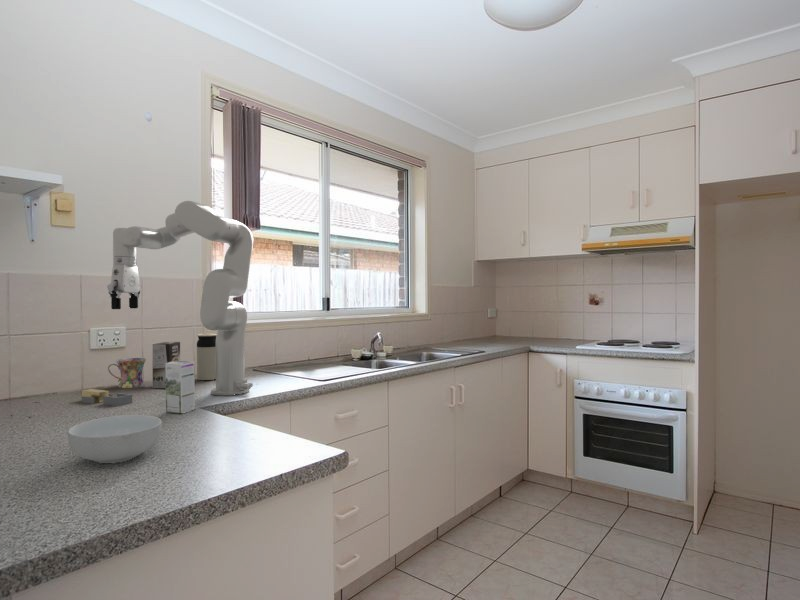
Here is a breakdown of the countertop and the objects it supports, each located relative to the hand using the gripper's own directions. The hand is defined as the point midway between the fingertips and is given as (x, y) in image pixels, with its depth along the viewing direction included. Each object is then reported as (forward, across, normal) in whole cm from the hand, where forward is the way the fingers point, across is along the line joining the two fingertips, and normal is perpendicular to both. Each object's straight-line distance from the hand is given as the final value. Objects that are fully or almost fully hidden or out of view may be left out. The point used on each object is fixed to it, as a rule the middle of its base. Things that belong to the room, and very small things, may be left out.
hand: (125, 308), depth 180 cm
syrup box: (+29, -34, -41) cm, 60 cm away
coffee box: (+29, +2, -15) cm, 33 cm away
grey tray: (+29, -30, -15) cm, 44 cm away
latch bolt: (+27, -28, -10) cm, 41 cm away
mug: (+29, -5, -4) cm, 30 cm away
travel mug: (+29, +18, -23) cm, 41 cm away
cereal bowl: (+29, -73, -49) cm, 93 cm away
